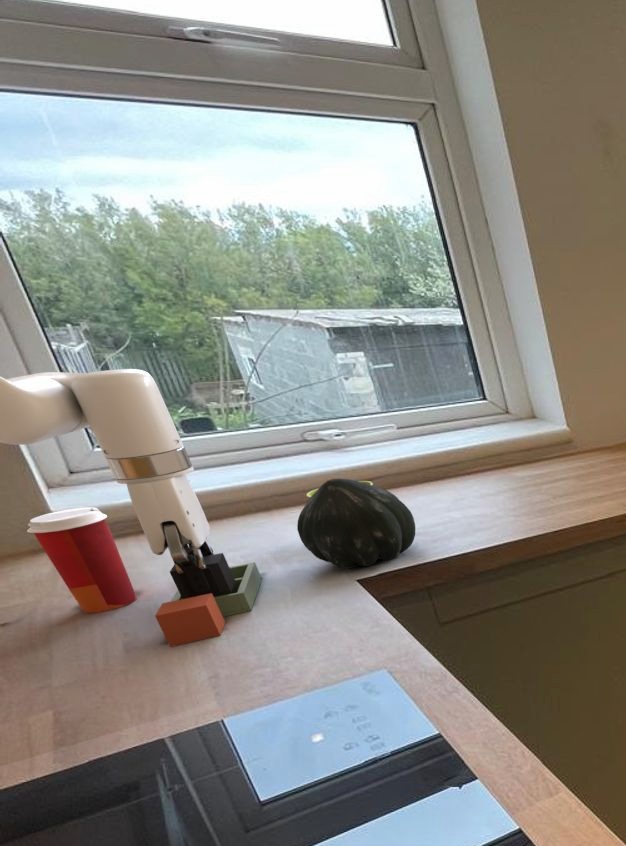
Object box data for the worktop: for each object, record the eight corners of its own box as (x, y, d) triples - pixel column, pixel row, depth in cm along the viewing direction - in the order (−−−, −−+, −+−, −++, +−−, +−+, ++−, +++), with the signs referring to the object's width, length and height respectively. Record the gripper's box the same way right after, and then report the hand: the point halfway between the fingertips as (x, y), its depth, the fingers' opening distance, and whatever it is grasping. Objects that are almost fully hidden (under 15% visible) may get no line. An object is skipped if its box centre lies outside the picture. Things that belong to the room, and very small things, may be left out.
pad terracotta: (170, 646, 105) (154, 615, 103) (176, 633, 109) (162, 603, 107) (220, 635, 108) (206, 604, 106) (225, 622, 112) (211, 592, 110)
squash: (396, 504, 142) (309, 456, 129) (449, 517, 136) (363, 468, 123) (348, 576, 137) (252, 533, 124) (401, 592, 131) (306, 549, 118)
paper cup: (146, 589, 124) (103, 502, 119) (146, 603, 119) (101, 513, 114) (73, 606, 119) (25, 515, 114) (69, 621, 114) (19, 527, 109)
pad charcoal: (183, 601, 112) (169, 571, 110) (189, 590, 115) (176, 561, 114) (231, 592, 114) (217, 562, 113) (235, 581, 118) (222, 552, 116)
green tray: (175, 627, 111) (166, 608, 110) (193, 592, 122) (185, 575, 121) (251, 610, 115) (243, 592, 114) (262, 578, 126) (254, 562, 125)
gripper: (127, 458, 112) (184, 579, 119) (96, 484, 99) (162, 617, 106) (199, 449, 116) (250, 566, 123) (178, 472, 103) (236, 601, 110)
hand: (208, 588), depth 115 cm, fingers closed on pad charcoal, 4 cm apart
